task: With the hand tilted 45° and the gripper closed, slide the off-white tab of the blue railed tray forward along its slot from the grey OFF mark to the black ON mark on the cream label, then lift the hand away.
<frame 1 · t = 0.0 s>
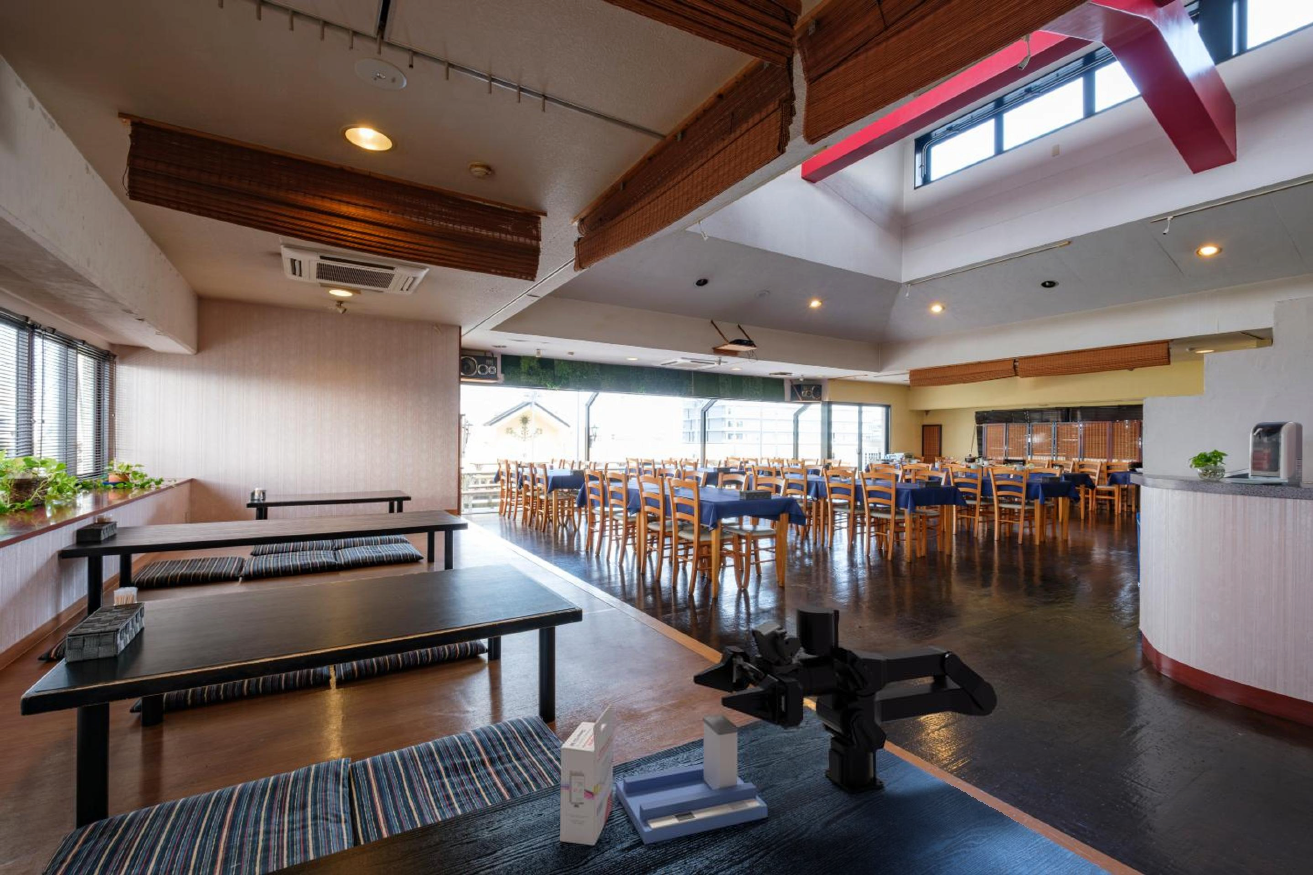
hand: (707, 689, 81), 17 cm above the table, tool horizontal, fingers open, 9 cm apart
blue railed tray: (688, 804, 82), on the table
ink cartridge box: (586, 826, 77), on the table
switch tab: (720, 753, 84), point 6 cm above the table, slide at 0.0 cm
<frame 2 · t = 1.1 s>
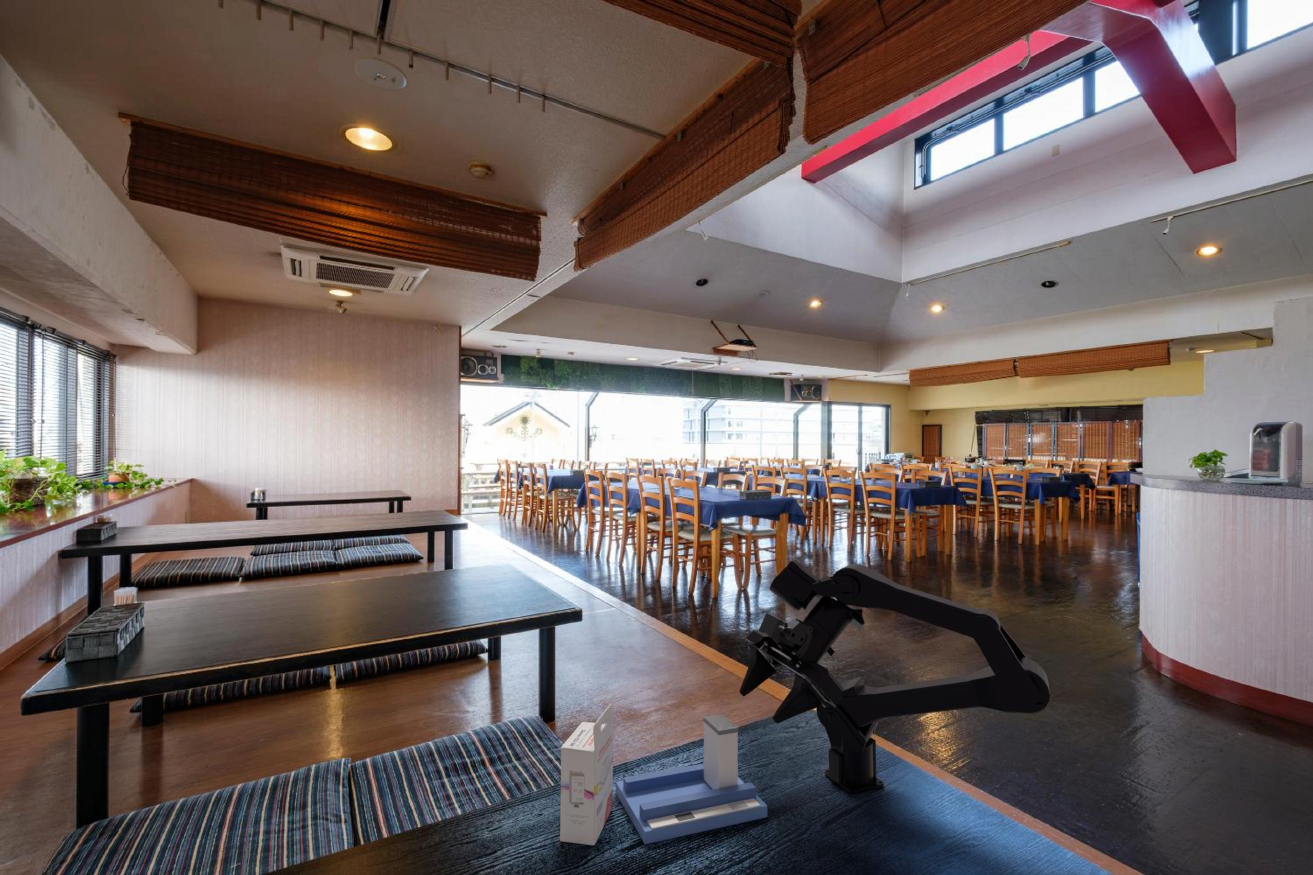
hand: (757, 707, 87), 12 cm above the table, tool tilted 45°, fingers open, 9 cm apart
nothing on the table moved.
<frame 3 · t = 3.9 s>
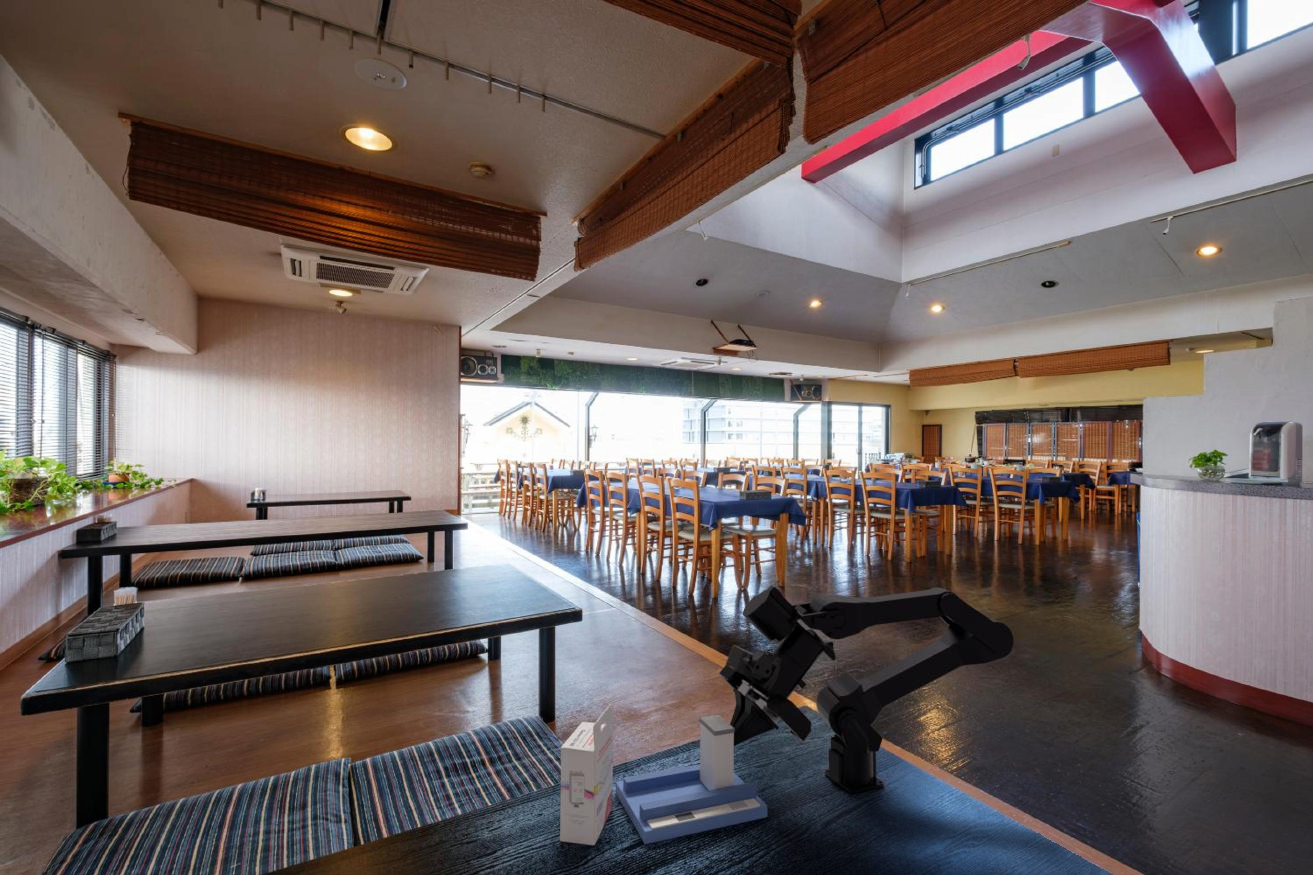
hand: (726, 744, 85), 7 cm above the table, tool tilted 45°, fingers closed, pressing on switch tab
switch tab: (716, 754, 84), point 6 cm above the table, slide at 0.6 cm, touching gripper
everything else where it was.
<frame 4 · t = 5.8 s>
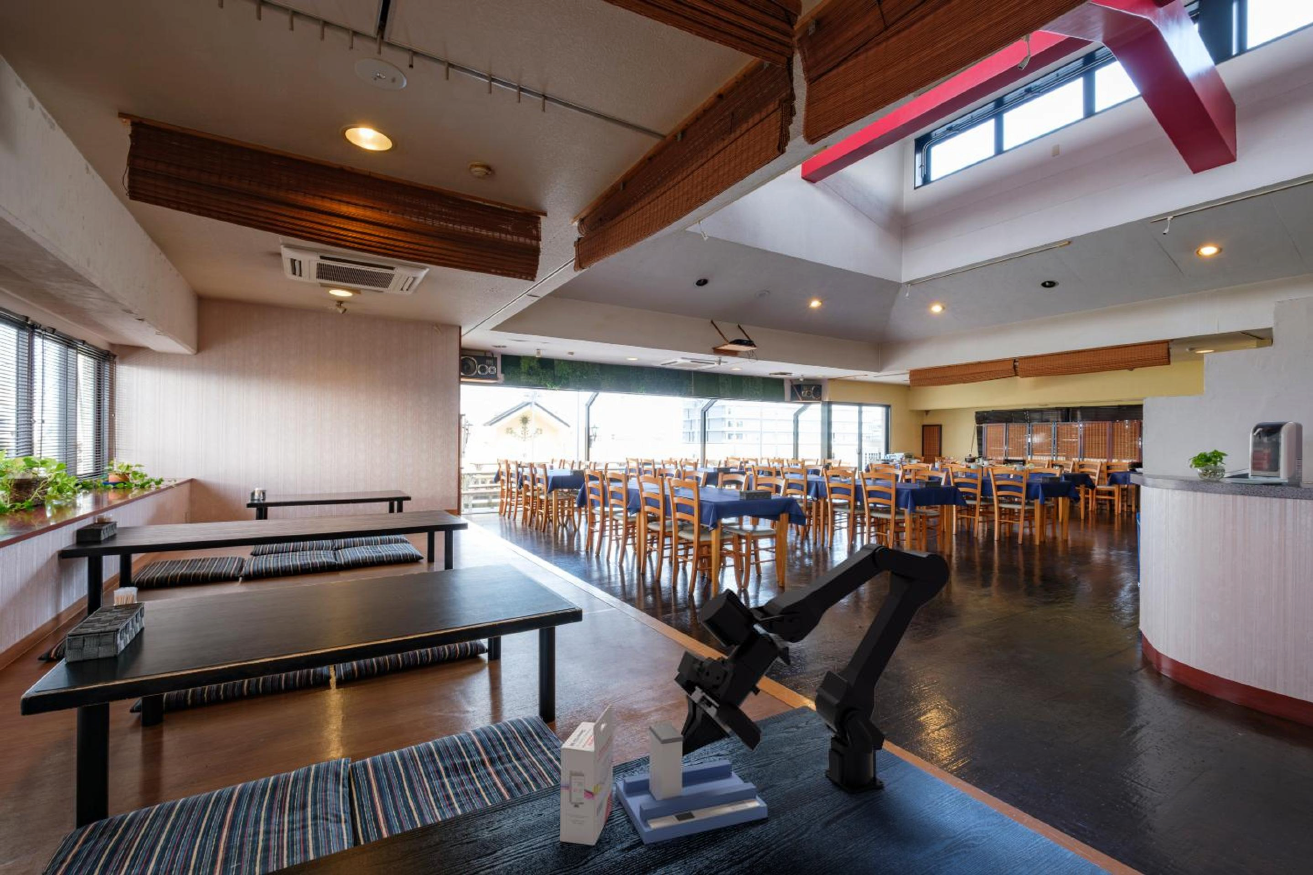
hand: (677, 754, 82), 7 cm above the table, tool tilted 45°, fingers closed, pressing on switch tab
switch tab: (665, 763, 81), point 6 cm above the table, slide at 8.7 cm, touching gripper
everything else where it was.
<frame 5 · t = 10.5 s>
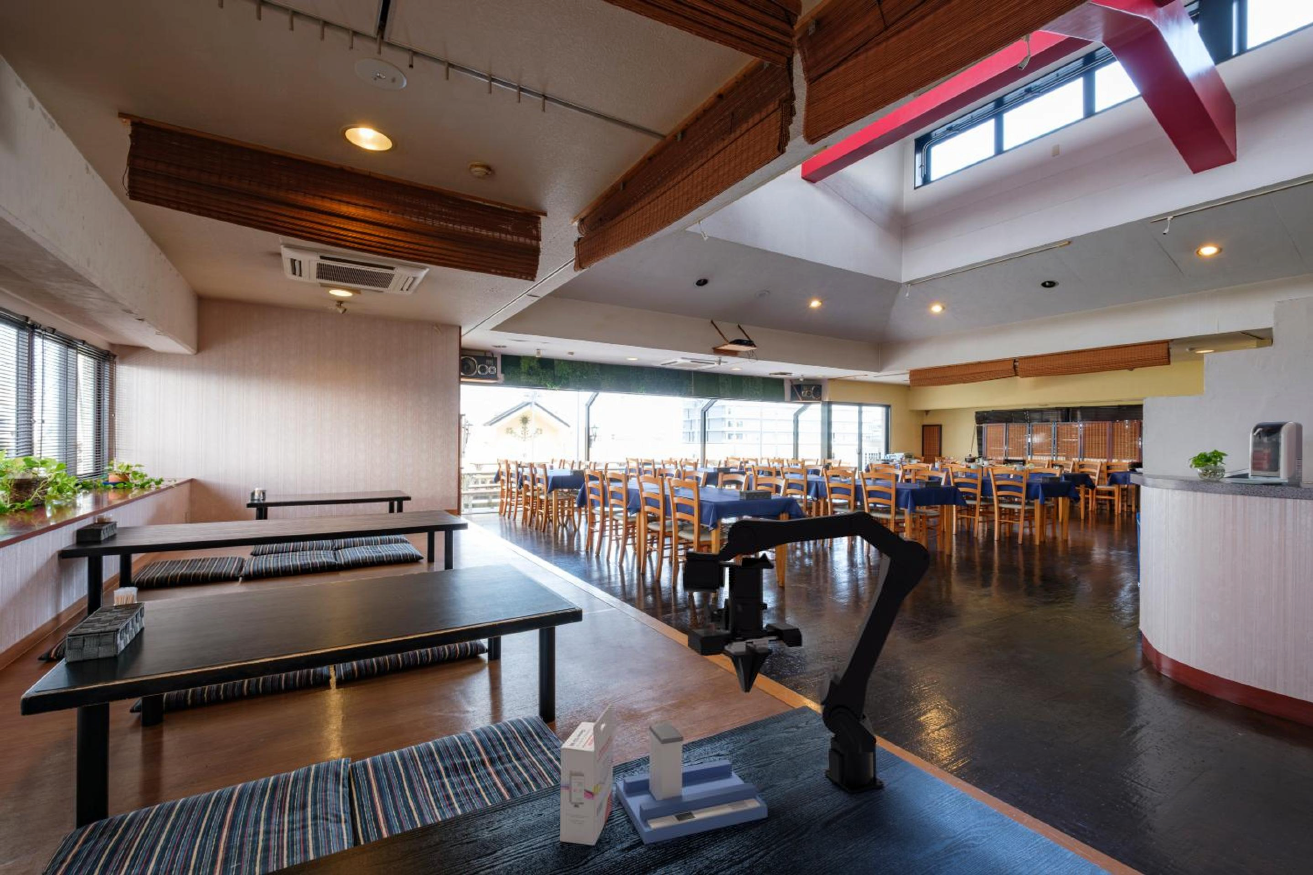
hand: (745, 691, 93), 12 cm above the table, tool pointing down, fingers closed
switch tab: (665, 763, 81), point 6 cm above the table, slide at 8.7 cm
everything else where it was.
at the end: switch tab slide at 8.7 cm; ink cartridge box moved 0.2 cm from its start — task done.
